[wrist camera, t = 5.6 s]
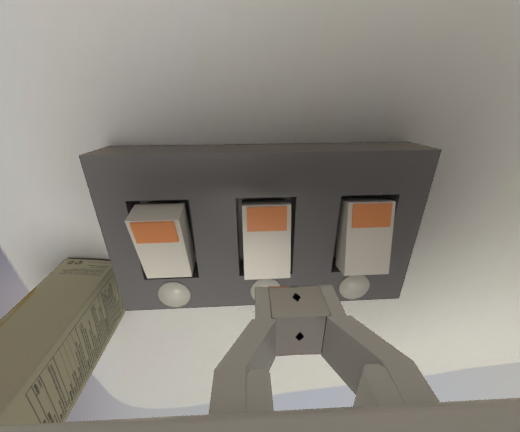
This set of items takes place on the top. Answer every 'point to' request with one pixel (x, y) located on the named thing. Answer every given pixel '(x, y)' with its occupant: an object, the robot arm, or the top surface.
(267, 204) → the rocker middle
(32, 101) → the top surface
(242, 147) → the switch panel
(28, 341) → the skincare box
